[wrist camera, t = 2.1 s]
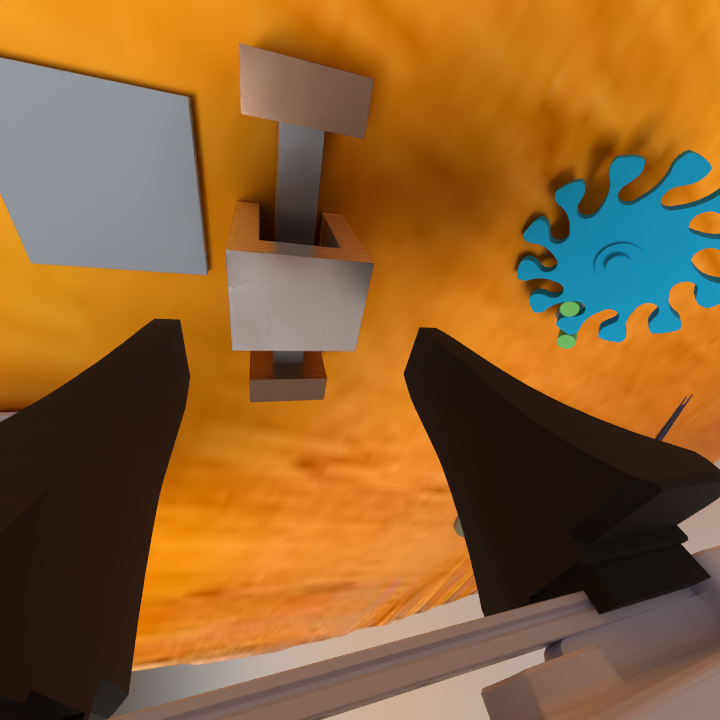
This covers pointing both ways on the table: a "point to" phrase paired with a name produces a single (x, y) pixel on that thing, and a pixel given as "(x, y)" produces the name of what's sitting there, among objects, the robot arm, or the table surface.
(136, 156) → the mat
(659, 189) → the blue lobed piece
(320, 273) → the bracket
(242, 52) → the rail
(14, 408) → the table surface
